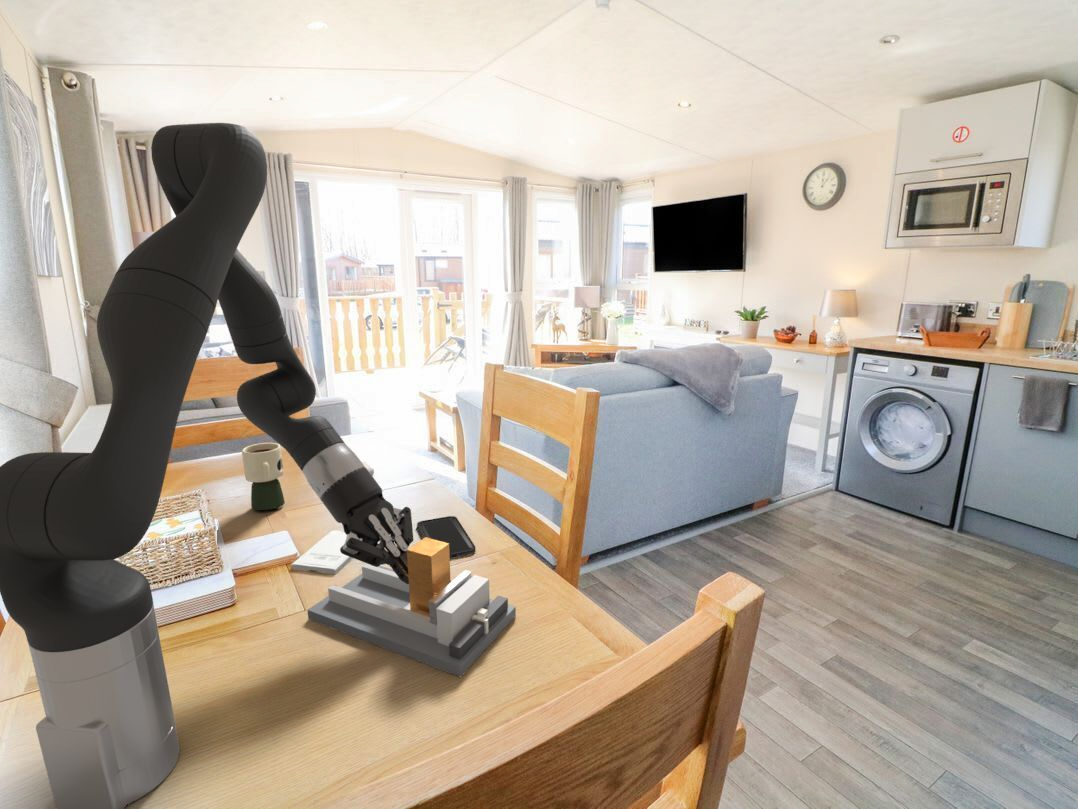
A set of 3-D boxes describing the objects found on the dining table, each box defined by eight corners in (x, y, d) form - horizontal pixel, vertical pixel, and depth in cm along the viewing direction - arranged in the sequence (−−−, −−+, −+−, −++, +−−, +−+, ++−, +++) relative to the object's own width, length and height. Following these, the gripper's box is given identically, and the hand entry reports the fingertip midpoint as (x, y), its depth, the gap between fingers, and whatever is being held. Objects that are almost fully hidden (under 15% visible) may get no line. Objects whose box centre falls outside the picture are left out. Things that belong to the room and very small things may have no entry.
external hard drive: (372, 542, 105) (336, 577, 93) (331, 538, 106) (290, 572, 94) (371, 534, 104) (335, 568, 92) (330, 529, 106) (290, 563, 94)
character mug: (291, 513, 115) (284, 452, 112) (252, 521, 112) (244, 458, 108) (283, 494, 124) (276, 438, 121) (246, 501, 121) (239, 443, 117)
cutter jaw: (394, 623, 77) (390, 555, 75) (432, 592, 84) (429, 529, 82) (436, 638, 74) (433, 567, 72) (472, 604, 81) (470, 539, 79)
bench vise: (308, 619, 81) (303, 578, 79) (376, 572, 93) (373, 536, 92) (460, 677, 70) (459, 630, 68) (515, 615, 82) (515, 575, 80)
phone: (455, 515, 113) (477, 549, 99) (455, 520, 113) (477, 554, 100) (415, 522, 110) (432, 557, 96) (415, 527, 110) (432, 563, 97)
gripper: (318, 483, 74) (397, 590, 72) (386, 454, 86) (456, 545, 83) (293, 513, 78) (367, 616, 75) (362, 481, 89) (429, 569, 87)
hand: (414, 579), depth 79 cm, fingers closed
